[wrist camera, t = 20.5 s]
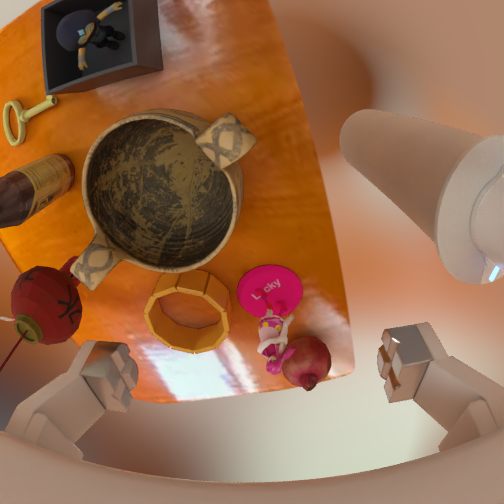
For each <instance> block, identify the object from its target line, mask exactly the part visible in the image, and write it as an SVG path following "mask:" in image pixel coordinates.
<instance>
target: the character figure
mask: <svg viewBox="0 0 504 504" xmlns="http://www.w3.org/2000/svg"><path fill="white" fill-rule="evenodd" d="M120 5H122V3H120V2H117V3H116V2H115V3H114V4H113V5H111V6H110V7H108V8H107V9H105V10H104V11H103V12H102V13H100V14H99V15H98V16H97V17H96V15H95V13H94V12H93V11H91V10H80V11H75V12H73V13H70V14H68V15H66V16H65V17H64V18H63V19H62V20H61V21H60V23H59V24H58V27H57V30H56V37H57V40H58V42H59V44H60V45H61V46H62V47H64V48H65V49H66V50H68V51H75V50H77V49H79V53H78V61H79V63H78V67H79V68H80V70H82V71H83V70H84V67H83V66H85V67H86V68H88V66H87V63H86V61H85V54H86V53H85V52H86V46H87V44H89V43H91V44H94V45H95V46H96V47H97V48H103V47H105V46H107V47H108V48H110V49H113V50H117V49H118V48H119V44H118V43H117V42H115V41H111V40H108V39H107V38H106V37H111V36H112V37H113V38H115V39H117V40H123V39H124V38H125V35H124V34H123V33H122V32H119V31H115V30H114V28H113V27H112V26H111V25H107V26H103V25H99V23H100V22H101V21H102V20H103V19H104V18H105V17H106V16H108V15H109V14H110V13H112V12H114V11H116V10H120V9H122V7H119V8H118V6H120Z"/></svg>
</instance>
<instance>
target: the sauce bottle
mask: <svg viewBox="0 0 504 504" xmlns="http://www.w3.org/2000/svg"><path fill="white" fill-rule="evenodd" d="M73 180H74V169H73V166H72V164H71V162H70V161H69V160H68V158H67V157H66V156H64V155H61V154H54V155H48V156H46V157H43V158H41V159H38V160H36V161H33V162H31V163H29V164H27V165H24V166H22V167H20V168H18V169H15V170H13V171H11V172H10V173H8V174H7V175H5V176H3V177H1V178H0V228H6V227H11V226H18V225H20V224H22V223H23V222H25V221H26V220H27V219H29V218H30V217H32V216H33V215H34V214H36V213H37V212H39V211H40V210H41V209H43V208H44V207H46V206H47V205H49V204H50V203H52V202H53V201H55V200H56V199H58V198H59V197H61V196H62V195H64V194H65V193H66V192H67V190H68V189H69V188H70V187H71V185H72V184H73Z"/></svg>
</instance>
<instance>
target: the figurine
mask: <svg viewBox="0 0 504 504" xmlns="http://www.w3.org/2000/svg"><path fill="white" fill-rule="evenodd" d="M302 295H303V287H302V284H301V281H300V280H299V278H298V277H297V275H296V274H294V273H293V272H292V271H291V270H289V269H287V268H284V267H281V266H277V265H264V266H260V267H257V268H254V269H252V270H251V271H249V272H248V273H246V274H245V275H244V276H243V277H242V279H241V280H240V282H239V284H238V287H237V297H238V300H239V302H240V304H241V306H242V307H243V308H244V309H245V310H246V311H247V312H248V313H250V314H252V315H254V316H256V317H259V318H261V320H260V321H259V322H260V323H259V327H258V335H259V337H260V340H261V343H260V344H259V345H258V349H257V352H259V353H260V354H261V355H263V356H264V357H265V358H267V359H268V361H267V365H266V370H267V371H268V372H269V373H271V374H274V375H275V374H278V373H280V372H281V370H282V367H283V362H284V361H285V360H286V359H287V358H289V357H290V356H291V355H292V354H293V352H294V351H295V350H296V349H292V350H291V348H292V347H291V348H290V349H289V350H286V351H285V352H284V353H283V351H284V349H285V347H286V345H287V341H288V339H287V333H288V326H289V325H290V322H291V321H292V319H293V318H294V317H295V316H294V317H293V318H292V316H293V315H294V314H293V315H292V314H291V315H292V316H291V315H290V317H289V316H288V318H287V319H285V320H284V319H282V318H281V317H283V316H285V315H287V314H289V313H290V312H292V311H293V310H294V309H295V308H296V307H297V306H298V304H299V303H300V301H301V299H302ZM293 320H294V319H293ZM284 344H285V345H284ZM282 353H283V354H282ZM281 354H282V355H281ZM280 355H281V356H280Z"/></svg>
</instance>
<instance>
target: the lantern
mask: <svg viewBox="0 0 504 504" xmlns="http://www.w3.org/2000/svg"><path fill="white" fill-rule="evenodd" d="M77 259H78V256H73V257H71V258H70V259H69V260H68V261H67V262H66V263H65V264H64V266H63V267H62V268H61V269H60V270H57V269H55V268H50V267H43V266H36V267H34V268H32V269H30V270H28V271H26V272H24V273H23V274H21V275H20V276H19V278H18V279H17V281H16V283H15V285H14V287H13V290H12V292H11V307H12V314H13V316H14V318H15V323H14V326H15V329H16V331H17V333H18V334H19V336H20V337H21V338H20V339H19V341H18V342H17V344H16V345H15V347H14V348H13V350H12V351H11V353H10V354H9V355H8V357H7V358H6V360H5V361H4V363H3V364H2V366H1V367H0V371H1V370H2V368H3V367H4V365H5V364H6V362H7V361H8V359H9V358H10V356H11V355H12V353H13V352H14V350H15V349H16V348H17V346H18V344H19V343H20V342H21V340H22V339H24V340H25V341H26V342H28V343H30V344H36V343H37V342H39V343H42V344H46V345H50V344H57V343H62V342H65V341H66V340H67V339H69V338H70V337H71V336H72V335H73V334H74V333H75V332H76V330H77V329H78V328H79V324H80V321H81V318H82V304H81V300H80V297H79V294H78V290H77V288H76V287H77V286H78V284H79V283H80V282H81V281H80V280H79V279H78V278H77V277H75V276H74V275H73V274H72V273H71V272H70V268H71V266H72V264H73V263H74V262H75V261H76V260H77Z"/></svg>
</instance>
